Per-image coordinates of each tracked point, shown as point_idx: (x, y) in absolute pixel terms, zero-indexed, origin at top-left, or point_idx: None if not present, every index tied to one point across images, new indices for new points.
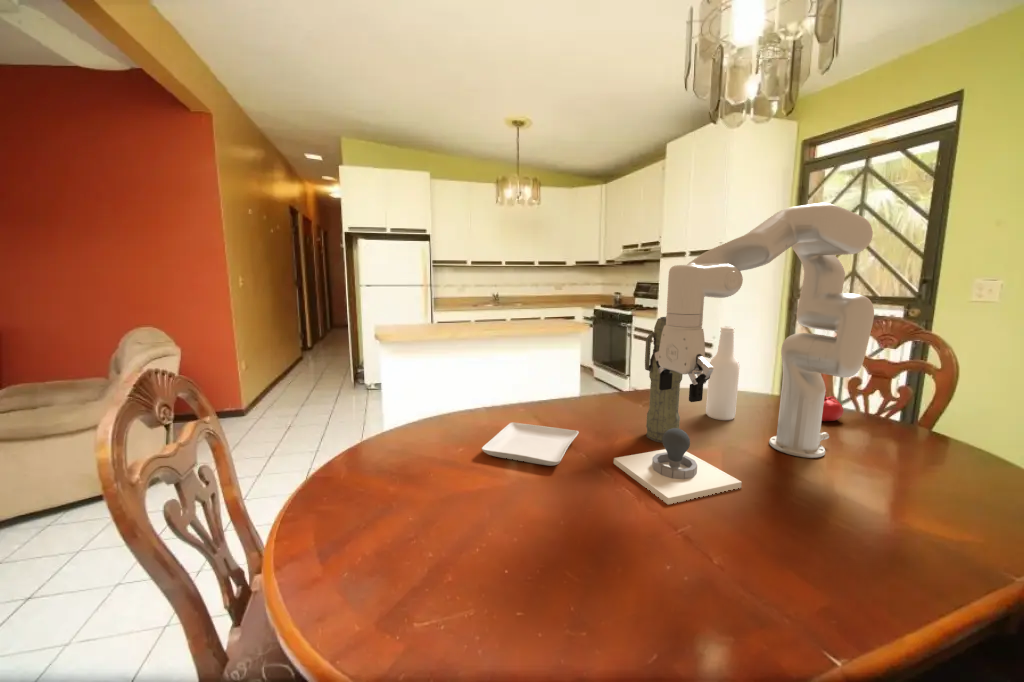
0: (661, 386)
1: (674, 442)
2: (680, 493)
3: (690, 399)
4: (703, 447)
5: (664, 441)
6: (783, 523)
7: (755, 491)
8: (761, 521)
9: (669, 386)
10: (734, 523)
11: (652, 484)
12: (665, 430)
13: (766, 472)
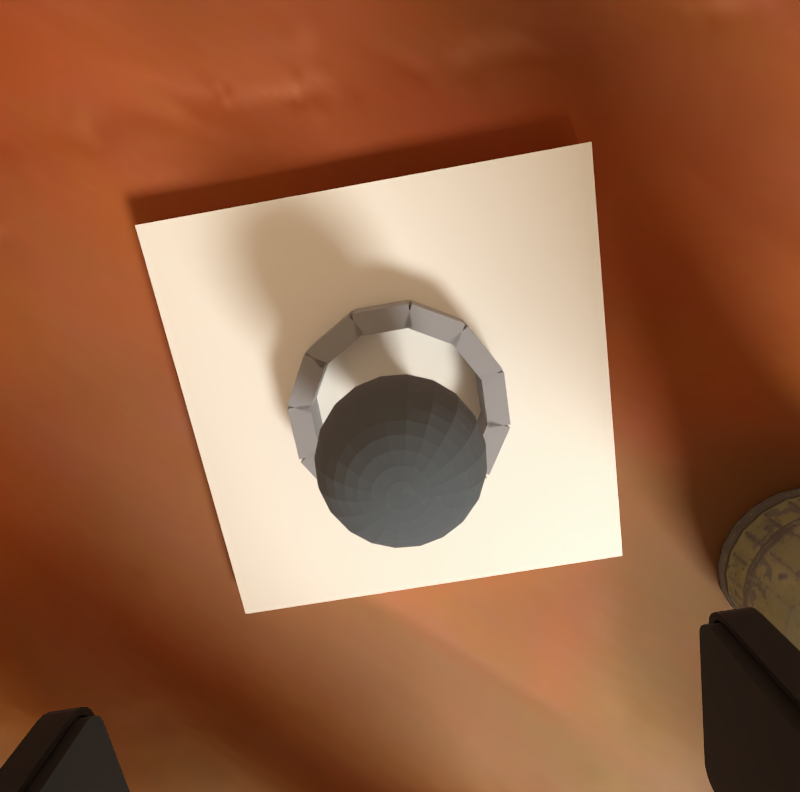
0: (743, 659)
1: (332, 417)
2: (171, 305)
3: (33, 734)
4: (624, 672)
5: (398, 377)
6: (11, 576)
7: (224, 628)
8: (23, 515)
9: (729, 784)
10: (10, 415)
11: (267, 215)
12: (771, 574)
13: (357, 755)
